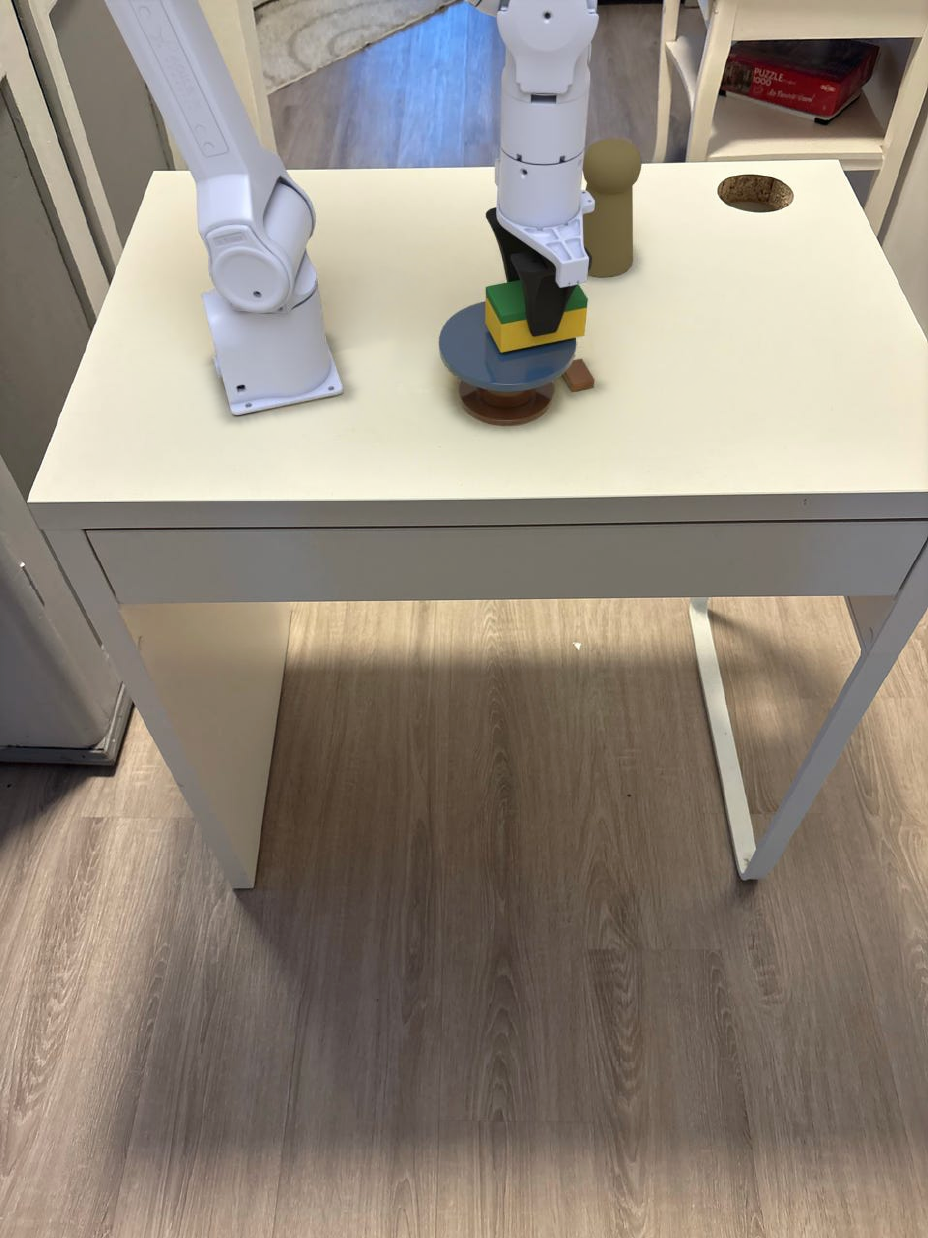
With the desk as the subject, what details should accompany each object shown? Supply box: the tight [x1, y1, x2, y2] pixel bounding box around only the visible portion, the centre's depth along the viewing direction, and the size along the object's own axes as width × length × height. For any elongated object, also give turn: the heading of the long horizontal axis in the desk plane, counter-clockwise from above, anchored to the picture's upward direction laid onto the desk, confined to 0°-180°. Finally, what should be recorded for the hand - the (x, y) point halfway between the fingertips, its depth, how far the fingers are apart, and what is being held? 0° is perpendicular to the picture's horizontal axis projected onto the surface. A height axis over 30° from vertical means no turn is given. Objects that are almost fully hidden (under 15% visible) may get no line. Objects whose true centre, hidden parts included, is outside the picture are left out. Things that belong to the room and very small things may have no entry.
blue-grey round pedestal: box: [438, 301, 578, 427], centre depth 81 cm, size 11×11×6 cm
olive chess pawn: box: [582, 137, 643, 278], centre depth 90 cm, size 6×6×11 cm
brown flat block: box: [561, 358, 595, 393], centre depth 84 cm, size 2×3×1 cm, turn 17°
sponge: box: [484, 280, 589, 353], centre depth 77 cm, size 7×4×3 cm, turn 107°
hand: (533, 315), depth 77 cm, fingers closed on sponge, 4 cm apart
